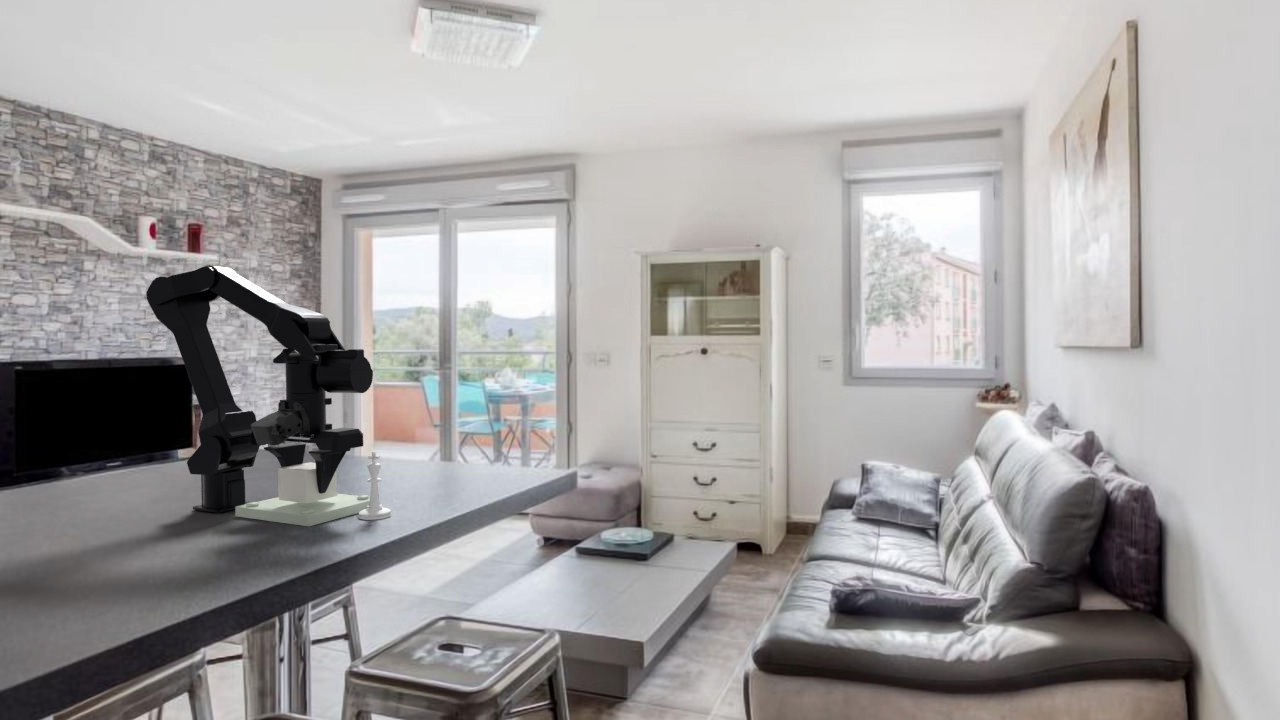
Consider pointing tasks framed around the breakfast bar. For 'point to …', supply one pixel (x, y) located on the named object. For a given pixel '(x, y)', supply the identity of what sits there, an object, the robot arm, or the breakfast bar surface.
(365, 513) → the chess piece
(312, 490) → the brick
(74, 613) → the breakfast bar surface
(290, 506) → the baseplate
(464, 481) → the breakfast bar surface
